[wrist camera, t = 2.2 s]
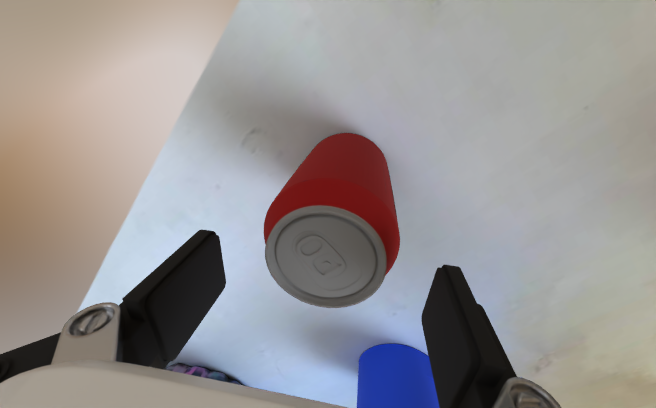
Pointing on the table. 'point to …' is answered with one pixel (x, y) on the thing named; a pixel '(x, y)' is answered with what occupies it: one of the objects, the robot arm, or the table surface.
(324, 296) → the beverage can
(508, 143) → the table surface
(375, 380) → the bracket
